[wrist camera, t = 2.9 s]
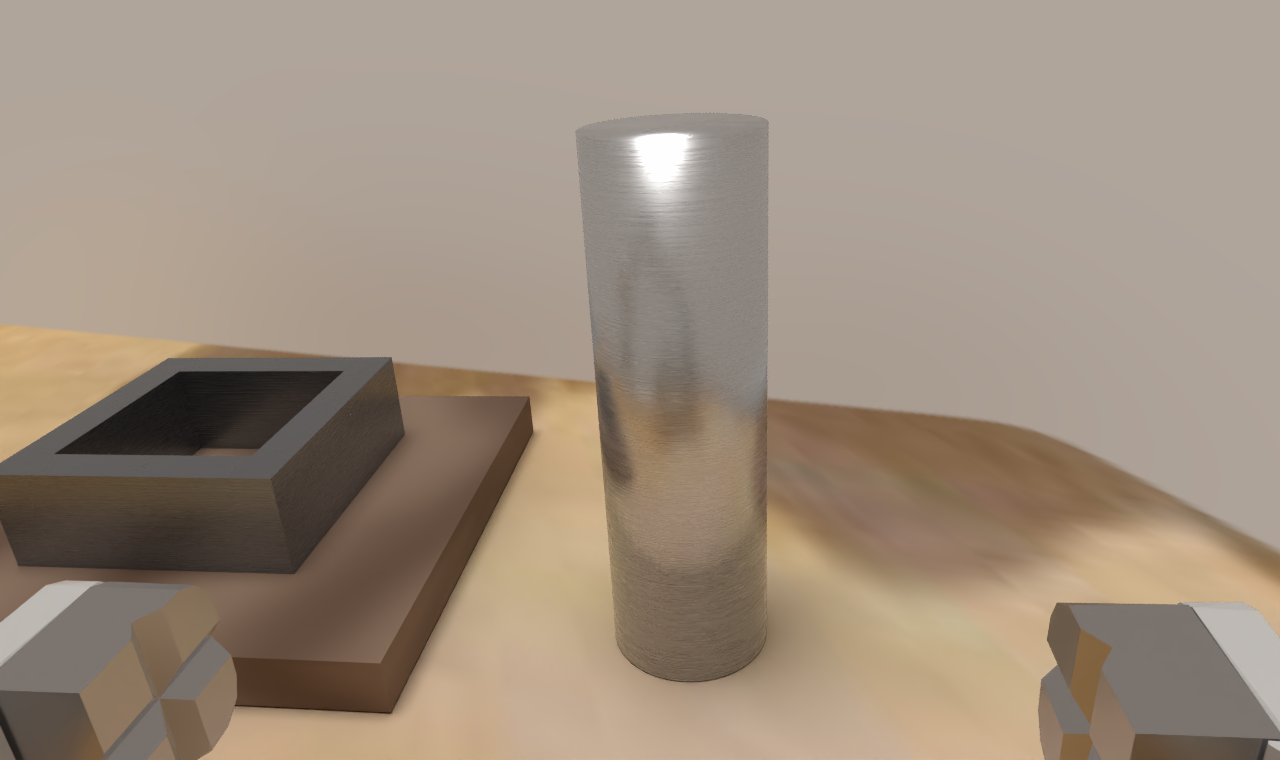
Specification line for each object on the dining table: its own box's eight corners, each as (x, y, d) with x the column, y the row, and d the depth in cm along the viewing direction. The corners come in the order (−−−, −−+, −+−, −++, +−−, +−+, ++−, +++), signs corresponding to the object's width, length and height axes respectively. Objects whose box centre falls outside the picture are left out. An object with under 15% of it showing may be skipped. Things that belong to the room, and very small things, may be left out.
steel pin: (605, 678, 22) (557, 144, 17) (626, 580, 26) (592, 117, 20) (767, 685, 21) (770, 136, 16) (765, 584, 25) (767, 109, 20)
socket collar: (18, 566, 25) (-19, 474, 24) (189, 432, 33) (168, 358, 32) (294, 574, 24) (270, 478, 23) (405, 434, 32) (391, 357, 31)
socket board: (-187, 683, 23) (-212, 637, 23) (160, 428, 37) (151, 395, 36) (390, 712, 21) (379, 663, 21) (533, 431, 35) (529, 396, 34)
